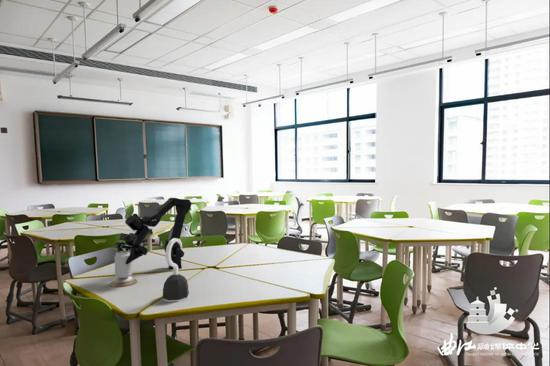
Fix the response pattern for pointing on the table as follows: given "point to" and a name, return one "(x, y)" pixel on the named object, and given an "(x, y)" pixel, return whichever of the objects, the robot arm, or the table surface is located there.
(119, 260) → the can
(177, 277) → the hook
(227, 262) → the table surface
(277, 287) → the table surface
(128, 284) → the stub stand
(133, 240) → the robot arm
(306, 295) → the table surface
